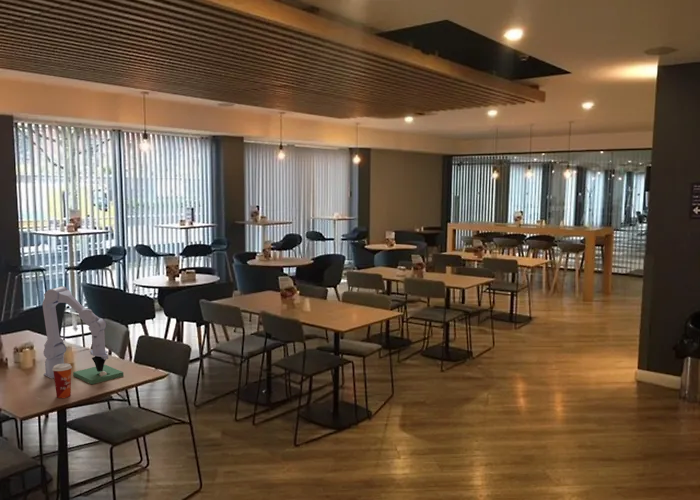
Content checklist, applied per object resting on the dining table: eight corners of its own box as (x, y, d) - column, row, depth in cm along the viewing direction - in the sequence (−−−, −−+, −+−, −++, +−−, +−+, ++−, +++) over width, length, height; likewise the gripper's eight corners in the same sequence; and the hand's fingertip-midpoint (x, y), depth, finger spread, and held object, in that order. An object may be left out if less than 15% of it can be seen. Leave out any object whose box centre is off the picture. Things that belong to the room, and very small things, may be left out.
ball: (102, 379, 280) (99, 379, 282) (109, 376, 282) (106, 377, 285) (100, 371, 280) (97, 372, 282) (107, 369, 283) (104, 370, 285)
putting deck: (73, 375, 286) (73, 372, 286) (105, 368, 298) (104, 364, 298) (91, 384, 274) (91, 380, 273) (123, 376, 286) (123, 372, 285)
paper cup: (65, 399, 254) (63, 368, 253) (50, 398, 256) (48, 367, 254) (77, 393, 262) (75, 363, 260) (62, 392, 263) (60, 362, 262)
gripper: (113, 344, 281) (115, 372, 283) (99, 339, 290) (100, 366, 292) (99, 347, 276) (101, 375, 277) (85, 342, 285) (87, 369, 287)
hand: (100, 371), depth 284 cm, fingers closed
